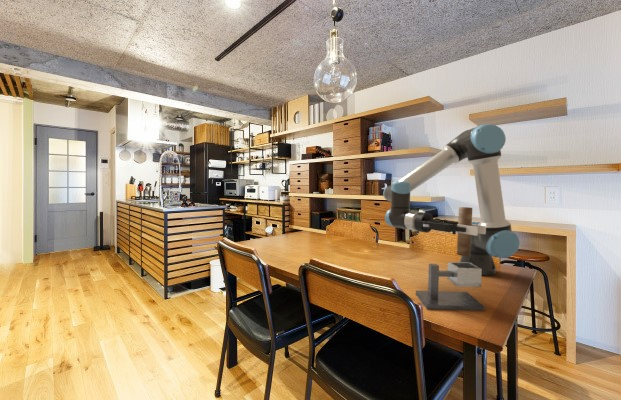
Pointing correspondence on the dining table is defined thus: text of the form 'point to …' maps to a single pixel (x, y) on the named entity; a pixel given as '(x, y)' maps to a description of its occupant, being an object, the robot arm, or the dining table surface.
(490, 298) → the dining table surface
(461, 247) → the walnut rail
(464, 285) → the cup bracket
